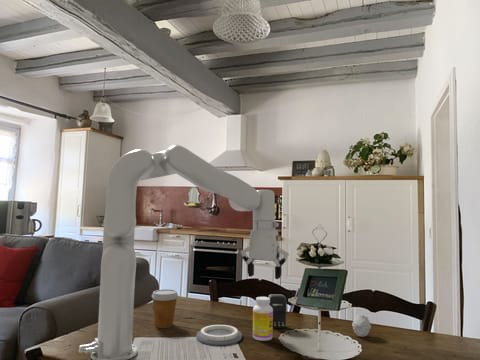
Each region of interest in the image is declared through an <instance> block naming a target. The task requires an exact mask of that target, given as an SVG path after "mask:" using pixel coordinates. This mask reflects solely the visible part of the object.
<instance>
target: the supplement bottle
mask: <svg viewBox="0 0 480 360" xmlns="http://www.w3.org/2000/svg"><path fill="white" fill-rule="evenodd" d="M255 303H256V304H255V305H254V306H253V308H252V338H253V339H254V340H256V341H260V342H261V341H262V342H266V341H271V340H272V339H273V337H274V332H273V331H274V328H273V308H272V307H271V306H270V305H269V303H270V298H268V297H267V296H257V297H256V298H255Z"/></svg>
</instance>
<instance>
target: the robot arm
mask: <svg viewBox="0 0 480 360" xmlns="http://www.w3.org/2000/svg"><path fill="white" fill-rule="evenodd" d="M175 174H176V175H178V176H179V177H181V178H183V179H185V180H186V181H188V182H189V183H191V184H193V185H194V186H196V187H197V188H199V189H200V190H203V191H205V192H209V193H210V192H211V193H214V194H216V195H220V196H221V197H223V198H226V199H228V204H229V206H230V208H232V209H233V210H235V211H237V212H252V229H251V230H250V235H249V240H248V241H249V242H248V246H247V247H246V248H244V249H241V250H240V254H241V257H242V259H243V261H244V262H245V264H246V266H247V276H248V278H249V277H253V276H254V275H255V264H254V262H255V260H256V261H257V260H259V261H273V263H274V264H275V267H274V279H275V280H278V279H280V278H281V276H282V266H283V265H284V264H285V263H286V261H287V259H288V257H289V256H290V254H289V252H287V251H286V250H285V249H283V248H281V246H280V245H281V244H280V238H279V231H278V229H277V230H276V228H278V227H279V226H280V224H279V222H276V214H275V213H276V212H275V211H276V210H275V209H276V208H275V207H276V206H275V205H276V203H275V200H276V199H275V197H276V196H275V192H274V190H271V189H256V188H255V187H253V186H252V185H250V184H248V182H245V181H244V180H242V179H241V178H239V177H237V176H235V175H233V174H231V173H229V172H227V171H225V170H223V169H221V168H218V167H216V166H215V165H213V164H211V163H209V162H208V161H206V160H205V159H204V158H201V157H200V156H199V155H197V154H195V153H194V152H192V151H191V150H189V149H188V148H186V147H185V146H182V145H179V144H175V145H171V146H169V147H168V148H167V149H166V150H162V151H159V152H157V151H156V152H153V153H152V152H150V151H148V150H145V149H138V148H137V149H134V150H131V151H129V152H127V153H125V154H123V155H122V156H121V157H119V158H118V159H117V161H116V162H115V163H114V164H113V166H112V167H111V169H110V171H109V173H108V177H107V183H106V197H105V211H104V218H103V230H102V231H103V236H102V255H101V261H100V281H99V282H100V285H99V286H100V287H99V305H98V307H99V308H98V323H97V325H98V326H97V327H98V328H97V337H95V338H94V341H91V342H90V343H88V344H87V343H84V344H80V345H78V352H79V353H85V354H86V355H87V354H90V358H91V360H129V359H132V358H133V357H135V356H136V355H137V354H138V346H136V345H135V344H133V335H134V334H133V332H134V309H135V308H134V306H135V287H136V285H135V283H136V271H137V255H136V252H135V230H136V227H137V217H136V213H137V211H136V209H137V208H136V206H137V205H136V202H137V200H136V199H137V187H138V185H139V182H140V181H145V180H151V179H155V178H156V179H158V178H162V177H167V176H171V175H175ZM247 253H248V254H247ZM281 255H282V258H281ZM280 258H281V259H280Z"/></svg>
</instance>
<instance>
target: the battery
mask: <svg viewBox="0 0 480 360" xmlns="http://www.w3.org/2000/svg"><path fill="white" fill-rule="evenodd" d="M268 298H270V303H269V305H270V306H271V307H272V308H273V329H286V327H287V309H288V308H287V298H286V296H285V295H283V294H269V295H268Z"/></svg>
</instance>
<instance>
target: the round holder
mask: <svg viewBox="0 0 480 360" xmlns="http://www.w3.org/2000/svg"><path fill="white" fill-rule="evenodd" d="M242 337H243V334H242V332H241V331H240V330H239V329H238V328H237V327H236V326H232V325H228V324H212V325H207V326H205V327H202V328H201V329H200V330H199V331H197V332H196V340H197V342H199V343H201V344H204V345H208V346H215V347H216V346H217V347H219V346H220V347H221V346H230V345H234V344H238V343H239V342H241V340H242Z"/></svg>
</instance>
